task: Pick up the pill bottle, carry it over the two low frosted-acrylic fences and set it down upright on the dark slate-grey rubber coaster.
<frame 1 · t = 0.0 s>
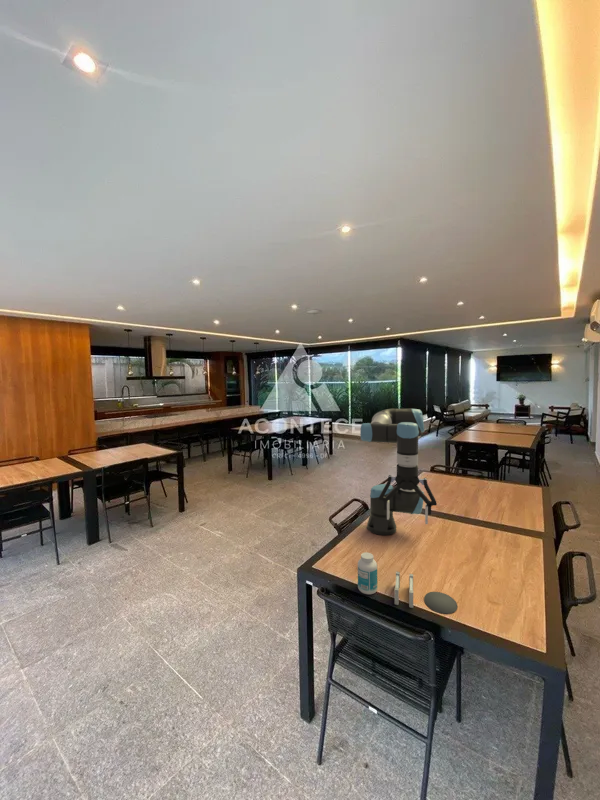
hand: (406, 520, 122), 28 cm above the table, fingers open, 13 cm apart
pill bottle: (367, 589, 127), on the table
acrylic fences: (404, 595, 122), on the table
coaster: (440, 602, 118), on the table
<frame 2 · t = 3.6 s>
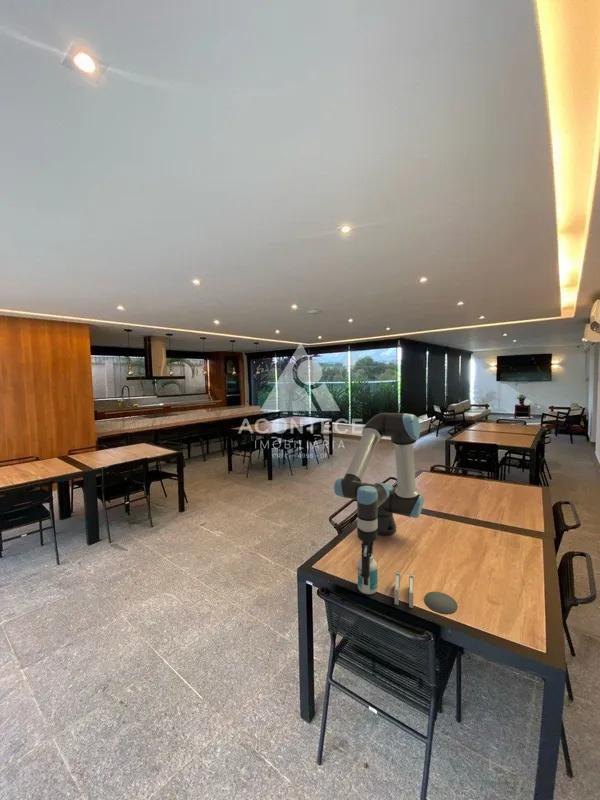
hand: (367, 584, 126), 2 cm above the table, fingers closed on pill bottle, 7 cm apart
pill bottle: (367, 589, 127), on the table, touching gripper
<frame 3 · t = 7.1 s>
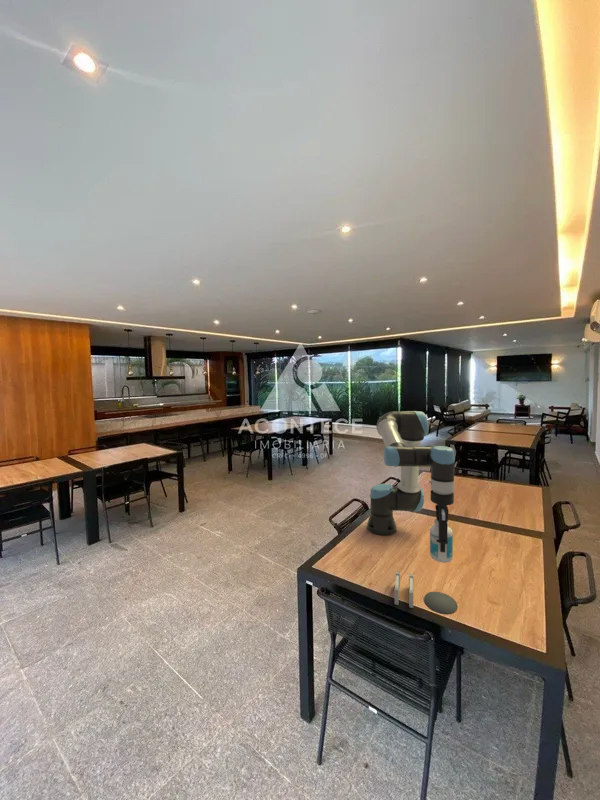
hand: (441, 553, 117), 19 cm above the table, fingers closed on pill bottle, 7 cm apart
pill bottle: (441, 558, 117), point 17 cm above the table, touching gripper
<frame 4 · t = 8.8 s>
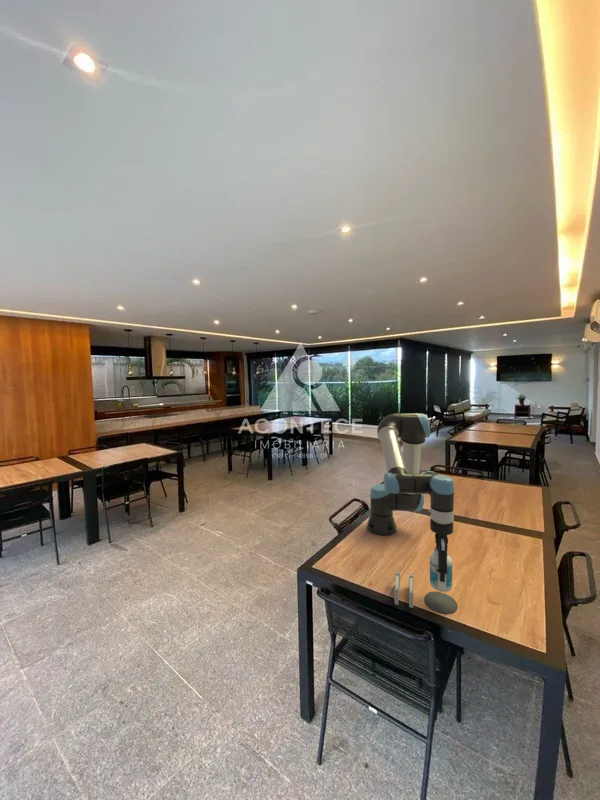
hand: (440, 581, 117), 8 cm above the table, fingers closed on pill bottle, 7 cm apart
pill bottle: (440, 586, 118), point 6 cm above the table, touching gripper
when the fingers open (3 cm above the table, at t = 10.6 s): pill bottle drops 1 cm, resting on coaster.
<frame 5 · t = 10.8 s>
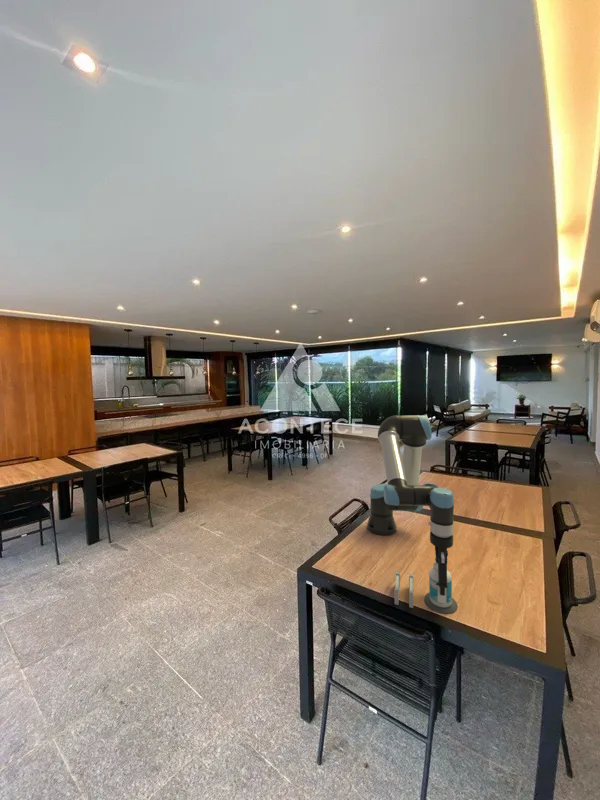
hand: (440, 592, 118), 4 cm above the table, fingers open, 9 cm apart
pill bottle: (440, 602, 118), resting on coaster
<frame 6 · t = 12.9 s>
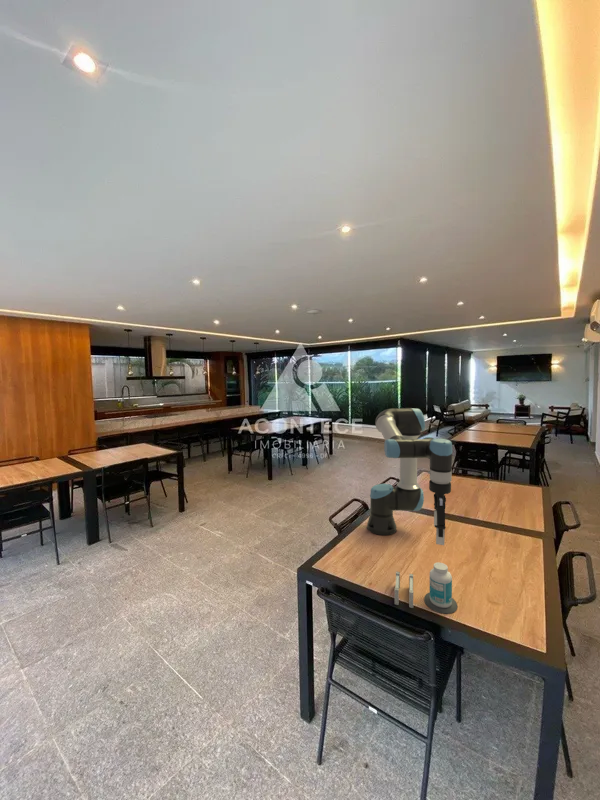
hand: (438, 534, 124), 21 cm above the table, fingers open, 13 cm apart
nothing on the table moved.
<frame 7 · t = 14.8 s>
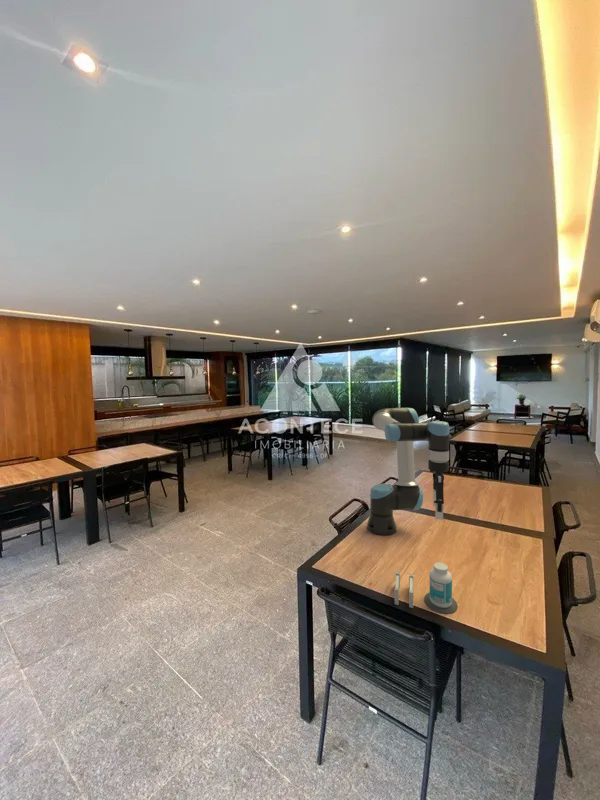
hand: (437, 512, 132), 27 cm above the table, fingers open, 13 cm apart
nothing on the table moved.
at the end: pill bottle 0.1 cm from the coaster (horizontally); pill bottle tilted 0°; the gripper is holding nothing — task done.
